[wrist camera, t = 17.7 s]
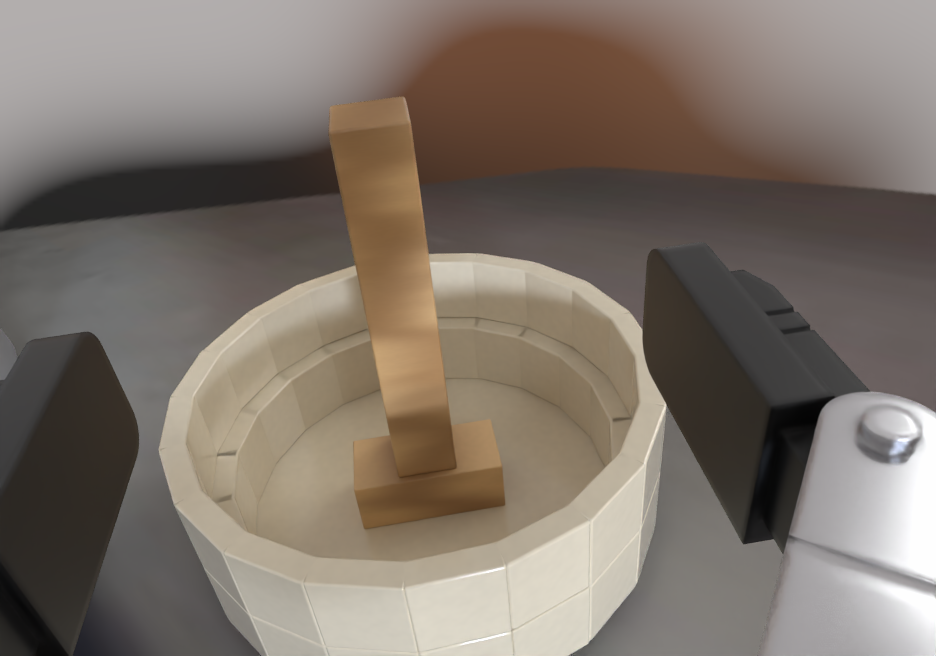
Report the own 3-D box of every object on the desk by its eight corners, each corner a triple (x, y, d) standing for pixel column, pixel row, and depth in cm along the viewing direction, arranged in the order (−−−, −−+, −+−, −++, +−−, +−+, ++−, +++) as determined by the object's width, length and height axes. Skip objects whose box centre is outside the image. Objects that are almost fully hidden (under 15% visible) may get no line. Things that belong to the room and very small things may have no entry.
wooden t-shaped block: (494, 457, 28) (460, 85, 20) (505, 506, 26) (473, 115, 18) (362, 479, 27) (272, 109, 19) (363, 530, 25) (263, 143, 17)
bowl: (504, 328, 35) (496, 216, 32) (753, 554, 24) (782, 418, 20) (178, 458, 30) (126, 341, 26) (297, 834, 18) (233, 713, 15)
